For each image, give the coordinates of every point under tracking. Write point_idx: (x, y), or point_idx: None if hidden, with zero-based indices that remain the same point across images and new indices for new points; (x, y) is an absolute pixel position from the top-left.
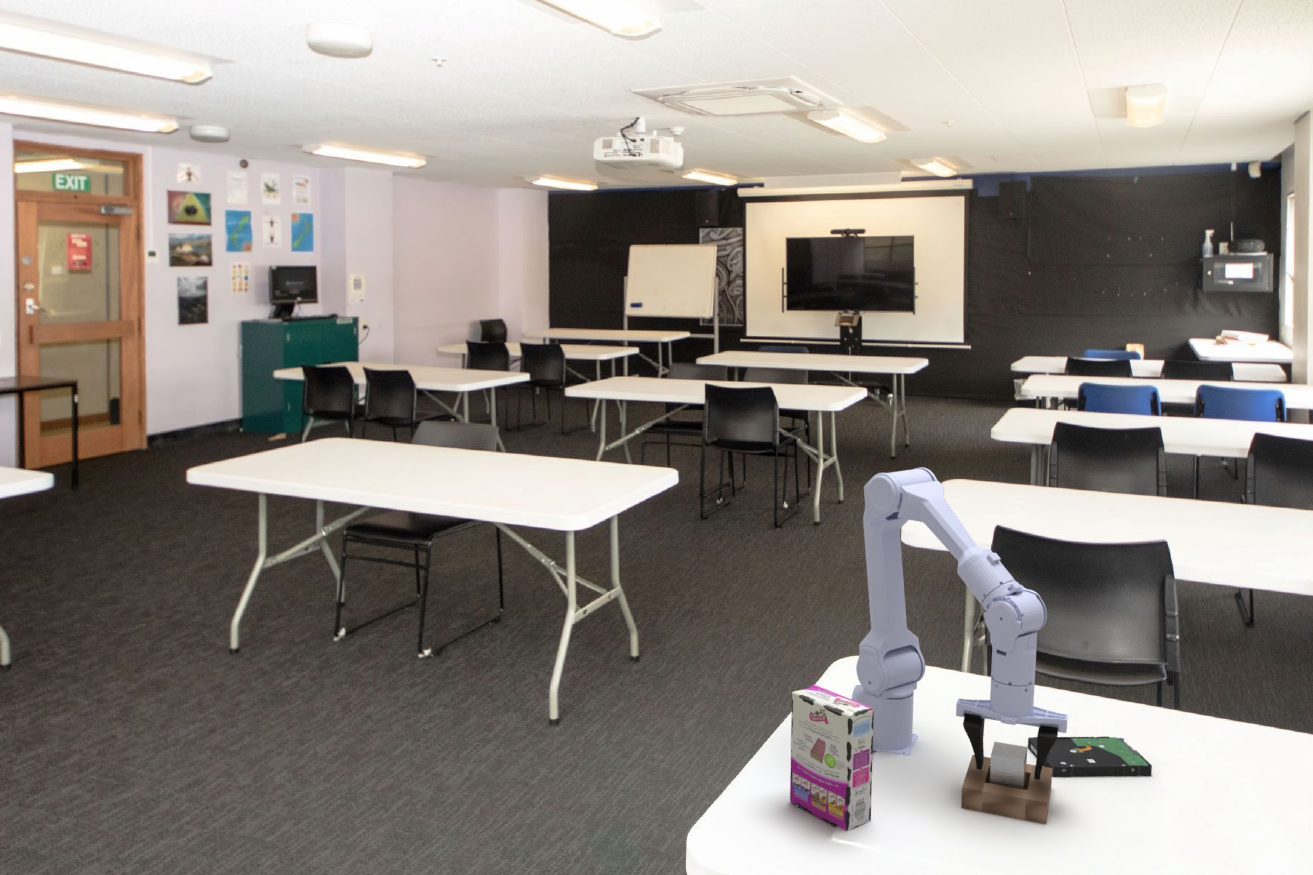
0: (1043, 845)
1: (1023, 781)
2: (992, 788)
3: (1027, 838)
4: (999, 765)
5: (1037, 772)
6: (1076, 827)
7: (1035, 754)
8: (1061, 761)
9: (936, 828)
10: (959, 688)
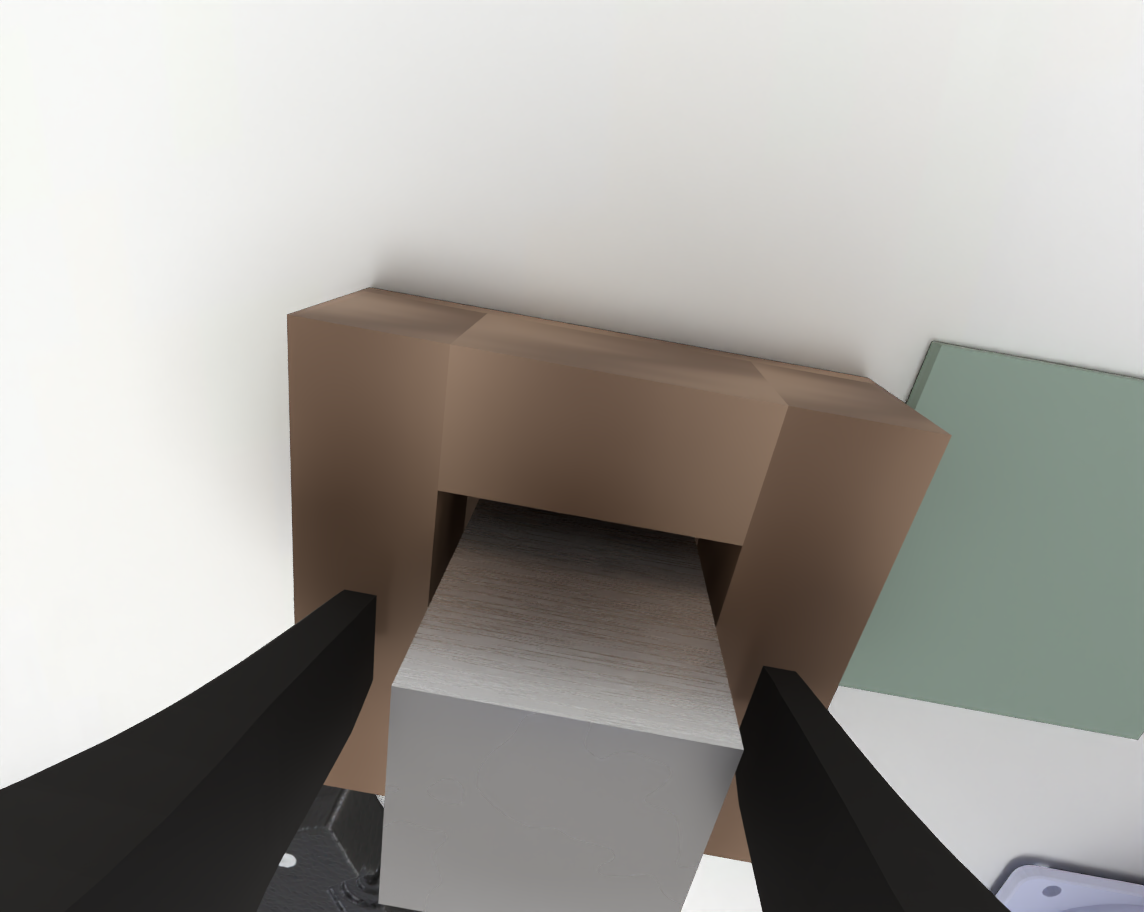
0: (378, 17)
1: (456, 548)
2: (697, 465)
3: (480, 99)
4: (644, 652)
5: (327, 619)
6: (207, 331)
7: None
8: (292, 869)
9: (1120, 77)
10: None
